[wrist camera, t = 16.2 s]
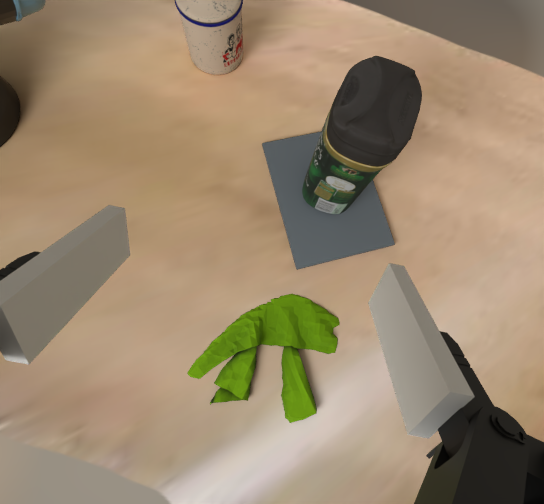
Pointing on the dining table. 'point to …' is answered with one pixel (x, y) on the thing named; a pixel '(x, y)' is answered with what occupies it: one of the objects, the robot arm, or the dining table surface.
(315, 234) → the mat
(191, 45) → the teacup with lid
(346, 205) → the coffee jar
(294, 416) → the cloth
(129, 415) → the dining table surface
